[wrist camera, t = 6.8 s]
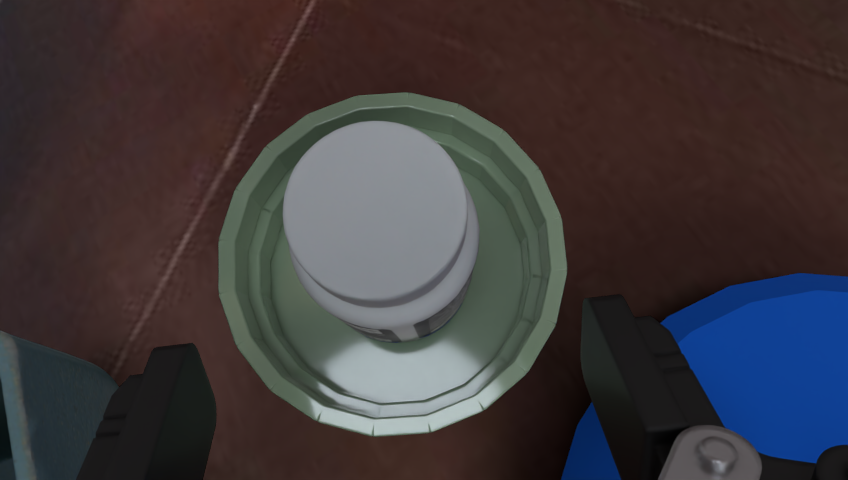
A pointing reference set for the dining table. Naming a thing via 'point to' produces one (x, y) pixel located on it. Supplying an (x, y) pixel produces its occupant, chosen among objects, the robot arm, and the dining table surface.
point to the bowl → (409, 361)
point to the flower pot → (47, 410)
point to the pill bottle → (382, 230)
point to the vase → (757, 369)
